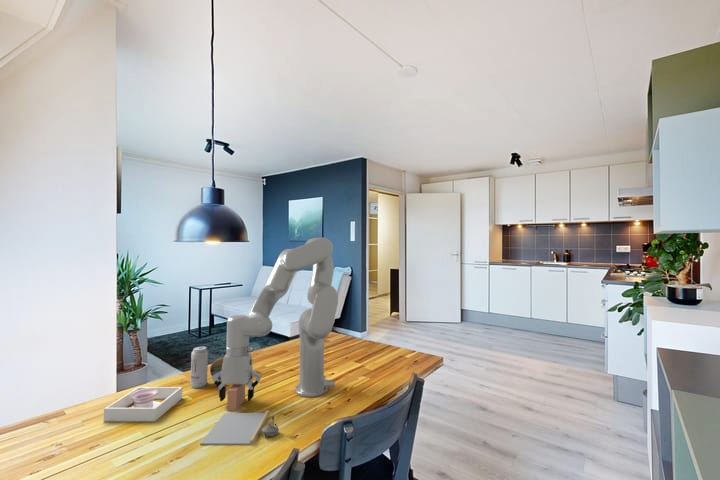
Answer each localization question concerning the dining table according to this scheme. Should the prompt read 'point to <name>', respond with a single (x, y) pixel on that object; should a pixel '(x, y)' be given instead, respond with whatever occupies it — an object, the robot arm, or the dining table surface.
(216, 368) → the tin
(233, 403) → the block
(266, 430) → the figurine
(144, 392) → the teacup
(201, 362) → the energy drink can
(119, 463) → the dining table surface
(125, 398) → the rectangular tray
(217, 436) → the mat
